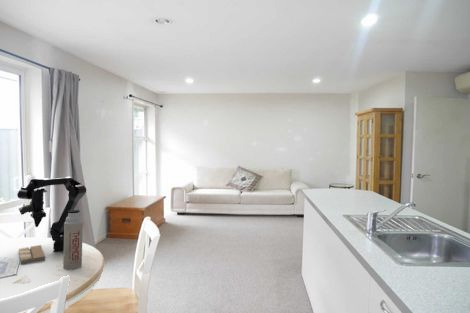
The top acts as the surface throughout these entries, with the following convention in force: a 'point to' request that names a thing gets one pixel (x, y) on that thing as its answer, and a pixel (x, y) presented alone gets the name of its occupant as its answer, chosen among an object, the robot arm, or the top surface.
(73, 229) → the thermos bottle
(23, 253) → the plank
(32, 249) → the floor panel
